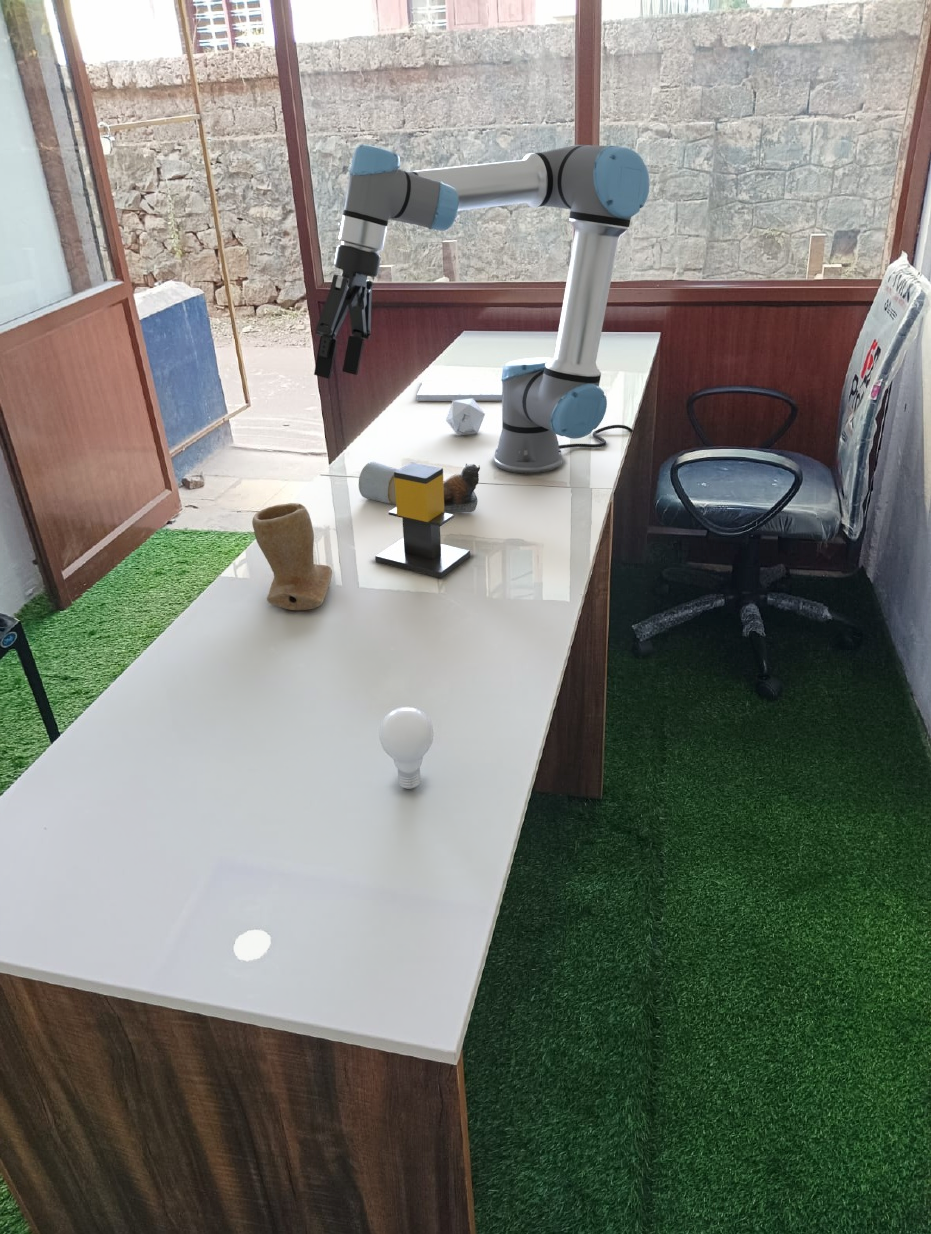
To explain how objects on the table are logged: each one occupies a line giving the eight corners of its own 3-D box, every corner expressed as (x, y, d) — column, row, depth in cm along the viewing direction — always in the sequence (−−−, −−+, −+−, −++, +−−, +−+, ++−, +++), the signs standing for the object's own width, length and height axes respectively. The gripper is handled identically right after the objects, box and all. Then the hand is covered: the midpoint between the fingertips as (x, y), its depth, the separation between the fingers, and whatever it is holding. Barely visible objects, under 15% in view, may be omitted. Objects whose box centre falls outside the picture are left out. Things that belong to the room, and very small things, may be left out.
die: (439, 436, 228) (446, 411, 219) (451, 409, 232) (458, 384, 223) (471, 448, 228) (479, 424, 219) (482, 422, 232) (491, 397, 223)
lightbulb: (383, 770, 114) (377, 697, 108) (434, 767, 114) (430, 694, 109) (383, 805, 108) (377, 730, 103) (437, 801, 109) (433, 726, 103)
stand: (406, 541, 173) (403, 496, 168) (470, 556, 166) (469, 510, 162) (375, 561, 165) (371, 515, 161) (441, 578, 159) (439, 531, 154)
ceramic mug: (391, 510, 185) (389, 474, 182) (358, 503, 189) (356, 467, 185) (420, 493, 193) (418, 458, 190) (388, 487, 197) (386, 452, 193)
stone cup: (271, 573, 162) (259, 493, 155) (337, 572, 162) (329, 493, 154) (250, 615, 149) (237, 531, 142) (323, 615, 149) (313, 530, 141)
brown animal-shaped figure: (418, 513, 184) (416, 466, 179) (430, 500, 190) (428, 454, 184) (475, 520, 180) (474, 471, 175) (485, 506, 186) (485, 459, 181)
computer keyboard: (571, 382, 264) (571, 377, 264) (572, 401, 248) (572, 395, 247) (423, 382, 268) (423, 376, 267) (415, 400, 252) (415, 394, 251)
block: (414, 504, 165) (411, 462, 161) (444, 511, 162) (443, 468, 158) (396, 515, 161) (393, 472, 157) (427, 522, 158) (425, 478, 154)
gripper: (363, 249, 166) (341, 366, 173) (310, 235, 142) (288, 372, 150) (402, 258, 165) (378, 376, 172) (355, 247, 141) (330, 384, 149)
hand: (336, 375), depth 161 cm, fingers open, 13 cm apart
